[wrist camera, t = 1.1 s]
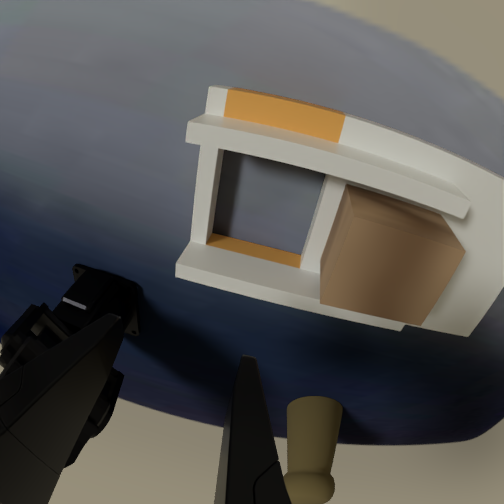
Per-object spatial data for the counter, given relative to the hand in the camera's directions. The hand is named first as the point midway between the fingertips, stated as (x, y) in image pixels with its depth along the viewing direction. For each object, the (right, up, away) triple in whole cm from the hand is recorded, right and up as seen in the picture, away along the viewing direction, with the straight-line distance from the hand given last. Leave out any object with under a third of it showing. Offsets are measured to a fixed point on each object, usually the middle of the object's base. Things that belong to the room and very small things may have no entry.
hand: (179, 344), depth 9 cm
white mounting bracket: (+10, +4, +10) cm, 14 cm away
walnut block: (+10, +4, +8) cm, 13 cm away
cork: (+9, -14, +22) cm, 27 cm away
